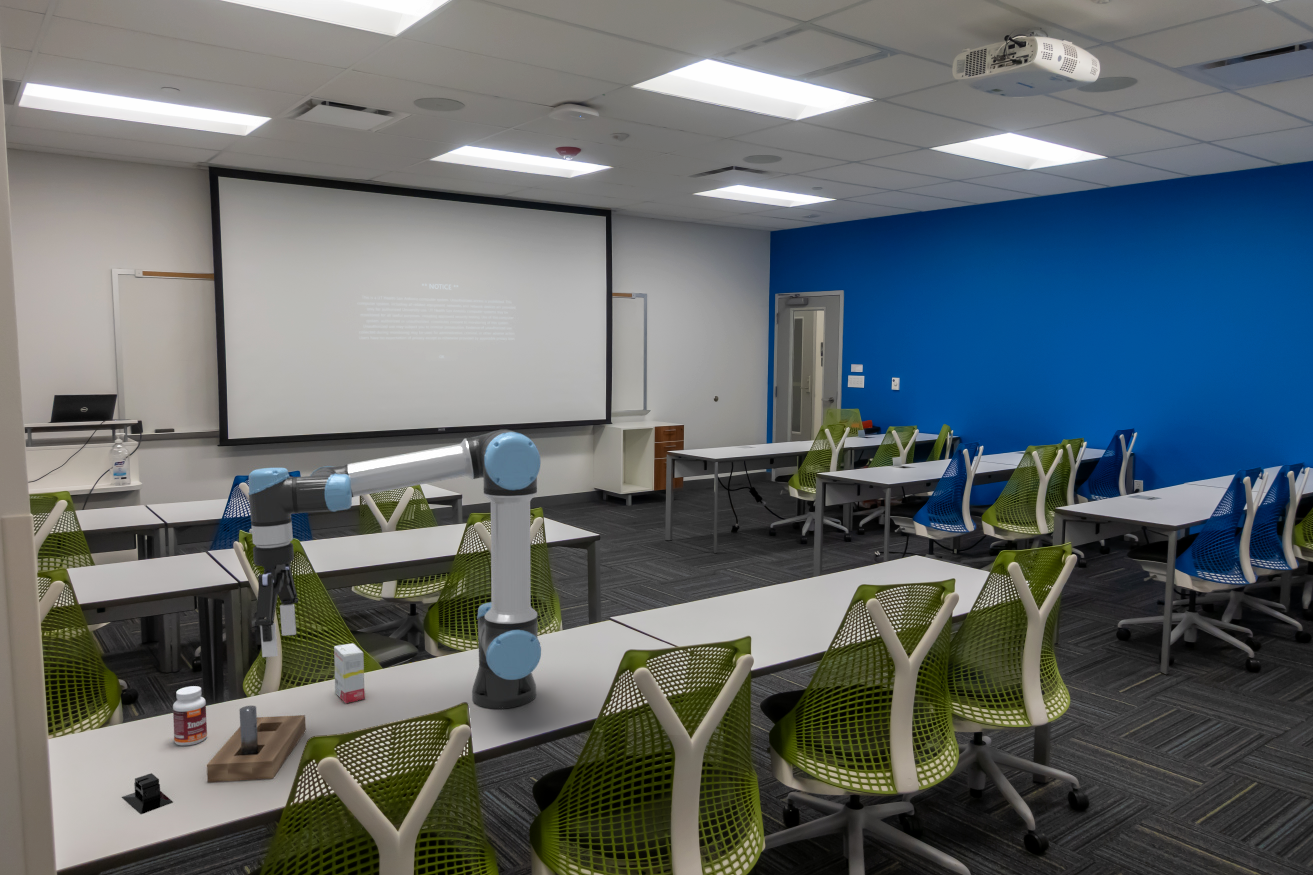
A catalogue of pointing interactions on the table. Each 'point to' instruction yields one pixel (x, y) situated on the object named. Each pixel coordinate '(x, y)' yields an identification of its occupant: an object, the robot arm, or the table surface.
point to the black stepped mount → (147, 795)
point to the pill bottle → (189, 716)
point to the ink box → (349, 672)
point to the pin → (248, 730)
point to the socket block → (272, 750)
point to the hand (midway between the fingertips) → (280, 645)
